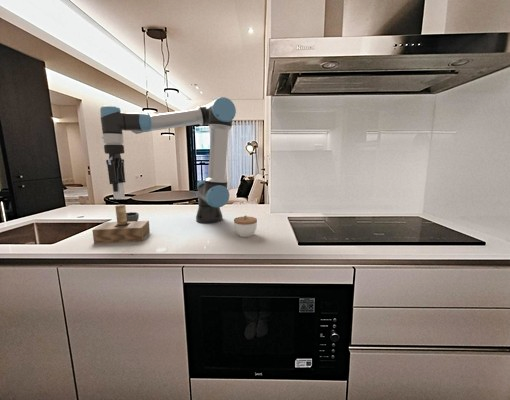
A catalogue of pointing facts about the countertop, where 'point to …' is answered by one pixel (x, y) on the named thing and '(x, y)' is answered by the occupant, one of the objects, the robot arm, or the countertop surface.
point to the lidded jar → (245, 226)
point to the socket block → (121, 232)
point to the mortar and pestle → (132, 216)
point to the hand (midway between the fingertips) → (119, 197)
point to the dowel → (121, 215)
